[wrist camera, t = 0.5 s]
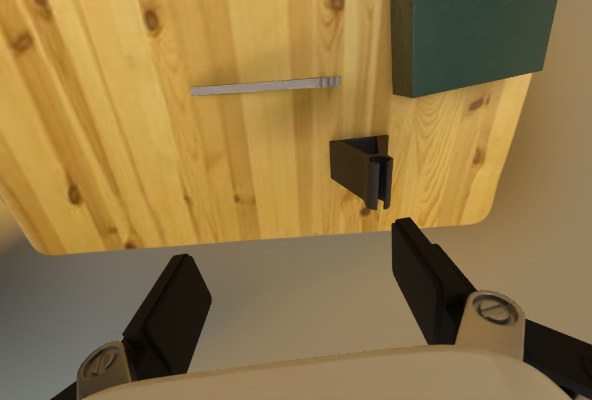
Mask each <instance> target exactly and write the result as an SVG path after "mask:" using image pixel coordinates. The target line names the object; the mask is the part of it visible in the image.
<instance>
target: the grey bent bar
mask: <svg viewBox="0 0 592 400" xmlns="http://www.w3.org/2000/svg"><path fill="white" fill-rule="evenodd" d="M340 85H341V76H333V77H326V78H324V77H319V78H311V79H297V80H286V81H272V82H259V83H246V84H232V85H219V86H205V87H193V88H190V90H191V94H192V95H210V94H224V93H239V92H254V91H268V90H283V89H284V90H286V89H301V88H316V87H322V88H323V87H328V86H329V87H334V86H340Z"/></svg>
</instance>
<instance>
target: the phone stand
mask: <svg viewBox="0 0 592 400" xmlns="http://www.w3.org/2000/svg"><path fill="white" fill-rule="evenodd" d="M388 138H389V136H388V135H383V136H373V137H364V138H355V139H346V140H337V141H330V142H329V143H330V164H331V178H332V179H333V180H335V181H336V182H338V183H339V184H341V185H342V186H344V187H345V188H347V189H348V190H350V191H351V192H352V193H354V194H355V195H357V196H358V197H360V198H361V199H363V201H364V202H365V205H366V207H368V208H369V209H372V210H377V203H378V199H380V200H382V201H384V206H383V209H387V208H389V207H390V198H391V184H392V170H393V158H392V157H390V156H388Z"/></svg>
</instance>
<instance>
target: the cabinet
mask: <svg viewBox="0 0 592 400" xmlns="http://www.w3.org/2000/svg"><path fill="white" fill-rule="evenodd" d="M556 4H557V0H390V6H391V42H392V78H393V94H395V95H400V96H405V97H409V98H416V97H421V96H425V95H430V94H435V93H439V92H444V91H449V90H453V89H458V88H463V87H467V86H472V85H477V84H481V83H486V82H491V81H495V80H500V79H505V78H509V77H514V76H518V75H523V74H528V73H532V72H537V71H541V70H542V69H543V64H544V59H545V55H546V51H547V46H548V41H549V37H550V32H551V27H552V23H553V18H554V13H555V9H556Z"/></svg>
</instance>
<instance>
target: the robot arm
mask: <svg viewBox="0 0 592 400" xmlns="http://www.w3.org/2000/svg"><path fill="white" fill-rule="evenodd" d="M392 270H393V274H394V277H395V279H396V281H397V283H398V285H399V287H400V289H401V291H402V293H403V295H404V297H405V299H406V301H407V303H408V305H409V307H410V309H411V311H412V313H413V315H414V317H415V319H416V321H417V323H418V325H419V327H420V329H421V331H422V333H423V335H424V337H425V339H426V341H427V343H428V345H423V346H411V347H400V348H391V349H381V350H371V351H363V352H355V353H346V354H338V355H329V356H321V357H313V358H305V359H297V360H288V361H280V362H272V363H264V364H257V365H248V366H241V367H233V368H225V369H217V370H210V371H202V372H195V373H187V371H188V368H189V365H190V362H191V359H192V356H193V354H194V351H195V348H196V345H197V342H198V339H199V337H200V334H201V331H202V328H203V325H204V322H205V320H206V317H207V314H208V311H209V308H210V305H211V302H212V301H211V300H212V298H211V295H210V292H209V290H208V288H207V286H206V284H205V282H204V280H203V278H202V276H201V274H200V272H199V270H198V267H197V265H196V264H195V261H194V259H193V258H192V256H189V255H188V254H180V255H175V256H173V257H172V258H171V260H170V261H169V263H168V265H167V266H166V268H165V269H164V271H163V272H162V274H161V275H160V277H159V278H158V280H157V282H156V283H155V285H154V286H153V288H152V289H151V291H150V292H149V294H148V295H147V297H146V299H145V300H144V301H143V303H142V305H141V306H140V308H139V309H138V311H137V312H136V314H135V315H134V317H133V318H132V320H131V322H130V323H129V324H128V326H127V328H126V329H125V331H124V332H123V334H122V335H123V336H124V338H123V340H122V341H121V342H119V341H112V342H109V343H106V344H104V345H103V346H101V347H99V348H98V349H96V350H95V351H94V352H92V354H90V355H89V356H88V357H87V358H86V359H85V361H84V362H83V363H82V364H81V366H80V368H79V370H78V373H77V381H76V382H74V383H73V384H71V385H70V386H69V387H67V388H66V389H64V390H63V391H62V392H60V393H59V394H58V395H56V396H55V397H53V398H52V399H51V400H592V345H591V344H588V343H586V342H583V341H581V340H578V339H576V338H573V337H571V336H568V335H565V334H563V333H561V332H558V331H556V330H553V329H551V328H548V327H545V326H543V325H540V324H538V323H535V322H533V321H530V320H528V319H525V315H524V312H523V311H522V309H521V307H520V306H519V305H518V304H517V303H515V302H514V301H513V300H511V299H510V298H508V297H507V296H505V295H502V294H499V293H497V292H492V291H484V290H480V291H477V290H476V289H475V288H474V286H473V285H472V284H471V283H470V282H469V280H468V279H467V278H466V277H465V276H464V274H463V273H462V272H461V271H460V270H459V268H458V267H457V266H456V265H455V264H454V263H453V261H452V260H451V259H450V258H449V257H448V255H447V254H446V253H445V252H444V251H443V250H442V248H441V247H440V246H439V245H438V244H431V243H430V241H429V240H428V239H427V238H426V236H425V235H424V234H423V233H422V232H421V230H420V229H419V228H418V227H417V225H416V224H415V223H414V222H413V220H412V219H411V218H410V217H408V218H401V219H396V221H395V223H392ZM186 373H187V374H186Z"/></svg>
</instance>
